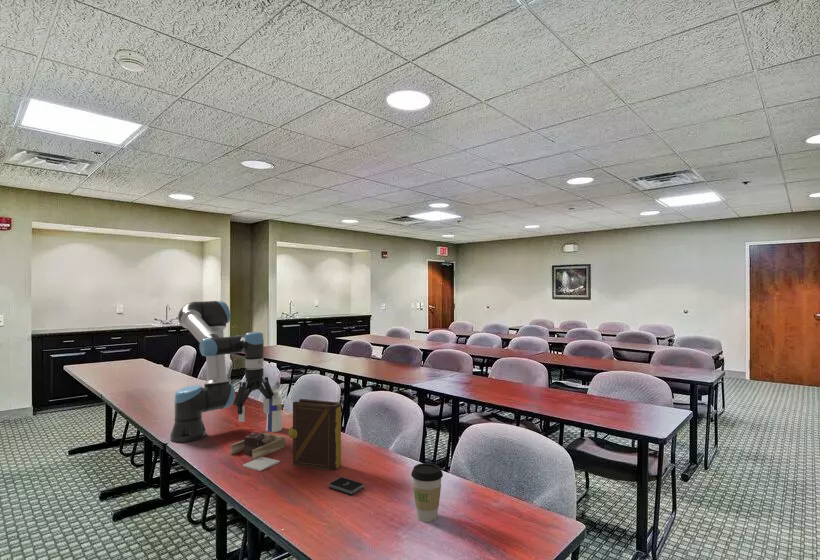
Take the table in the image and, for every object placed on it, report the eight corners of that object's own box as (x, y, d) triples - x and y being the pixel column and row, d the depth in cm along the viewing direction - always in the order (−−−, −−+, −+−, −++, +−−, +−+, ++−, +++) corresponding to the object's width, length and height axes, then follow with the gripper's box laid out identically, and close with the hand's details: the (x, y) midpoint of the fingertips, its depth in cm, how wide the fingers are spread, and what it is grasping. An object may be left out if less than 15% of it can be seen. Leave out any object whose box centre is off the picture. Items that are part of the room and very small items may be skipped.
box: (256, 455, 189) (256, 438, 189) (243, 454, 190) (243, 437, 191) (264, 450, 195) (264, 433, 195) (251, 449, 196) (251, 432, 197)
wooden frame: (230, 454, 190) (230, 444, 191) (262, 441, 206) (262, 432, 206) (253, 460, 184) (253, 450, 184) (285, 446, 200) (285, 437, 200)
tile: (242, 466, 178) (242, 464, 178) (262, 457, 186) (262, 456, 186) (260, 471, 173) (260, 469, 173) (279, 462, 182) (279, 460, 182)
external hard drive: (351, 497, 152) (351, 491, 152) (327, 489, 158) (327, 483, 158) (364, 489, 158) (364, 483, 158) (341, 482, 164) (341, 476, 164)
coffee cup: (410, 509, 143) (410, 462, 143) (440, 508, 144) (440, 461, 144) (412, 526, 133) (412, 475, 133) (445, 524, 134) (445, 474, 134)
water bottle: (287, 427, 226) (287, 378, 226) (275, 433, 218) (275, 381, 218) (274, 425, 229) (274, 377, 230) (262, 430, 222) (262, 380, 222)
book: (343, 464, 180) (343, 401, 180) (333, 472, 172) (333, 407, 172) (296, 457, 187) (297, 397, 187) (284, 465, 179) (285, 402, 179)
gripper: (236, 373, 181) (236, 426, 180) (281, 364, 203) (281, 411, 202) (224, 372, 184) (224, 423, 184) (269, 363, 206) (269, 409, 206)
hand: (254, 417), depth 193 cm, fingers open, 13 cm apart
